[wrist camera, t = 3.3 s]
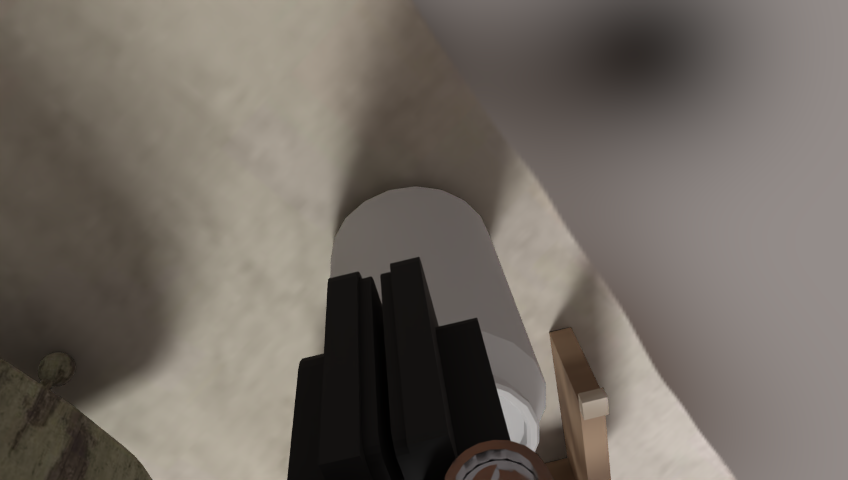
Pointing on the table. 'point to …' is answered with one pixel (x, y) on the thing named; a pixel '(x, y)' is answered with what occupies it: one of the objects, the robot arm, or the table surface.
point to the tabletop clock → (54, 431)
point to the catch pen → (579, 413)
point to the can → (451, 284)
